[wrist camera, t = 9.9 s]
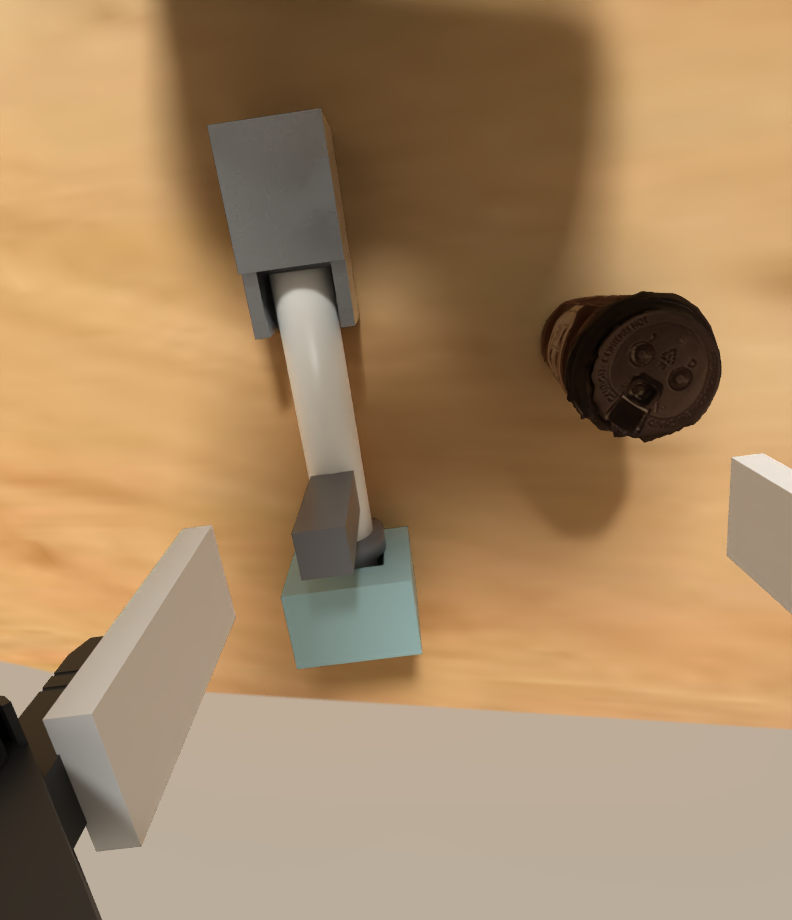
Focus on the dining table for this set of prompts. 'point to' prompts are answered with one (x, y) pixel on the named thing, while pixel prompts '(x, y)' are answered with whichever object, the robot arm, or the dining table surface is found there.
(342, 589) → the socket
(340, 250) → the sleeve
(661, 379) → the coffee cup
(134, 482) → the dining table surface
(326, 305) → the tube
